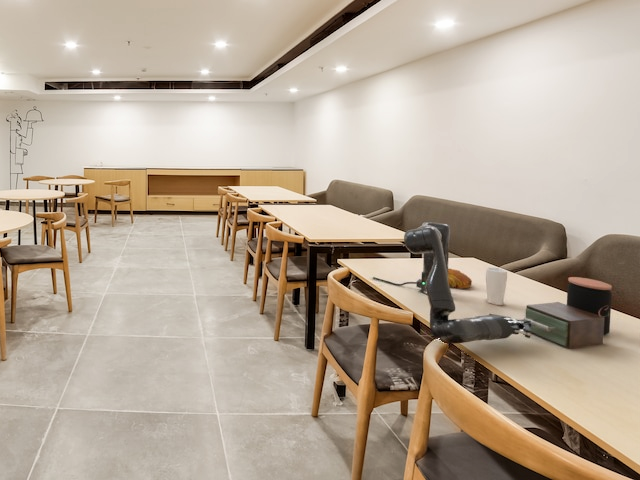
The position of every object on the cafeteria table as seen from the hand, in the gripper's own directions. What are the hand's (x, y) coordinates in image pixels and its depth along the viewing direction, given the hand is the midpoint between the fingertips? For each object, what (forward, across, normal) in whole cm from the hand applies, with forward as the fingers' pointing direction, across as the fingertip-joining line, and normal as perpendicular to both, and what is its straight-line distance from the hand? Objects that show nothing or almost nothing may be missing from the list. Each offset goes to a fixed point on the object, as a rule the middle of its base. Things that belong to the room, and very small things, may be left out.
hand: (528, 323), depth 127 cm
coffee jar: (+33, +3, +7) cm, 34 cm away
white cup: (+24, +27, +7) cm, 37 cm away
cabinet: (+16, 0, +6) cm, 17 cm away
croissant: (+27, +49, +7) cm, 56 cm away
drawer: (+12, 0, +6) cm, 14 cm away
